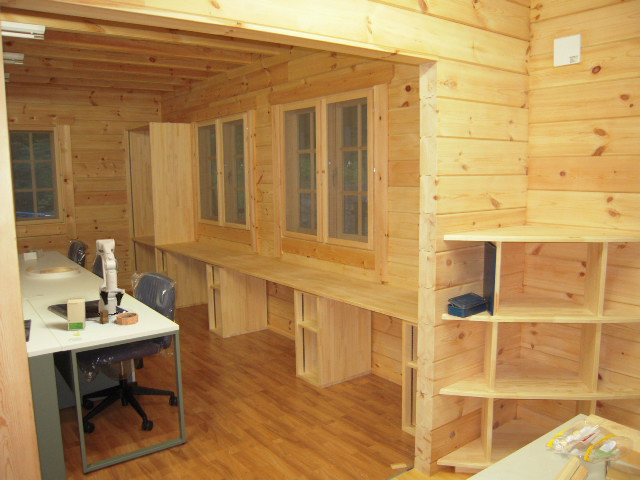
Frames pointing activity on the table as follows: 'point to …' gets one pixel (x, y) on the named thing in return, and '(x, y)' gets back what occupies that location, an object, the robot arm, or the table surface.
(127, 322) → the faceted orange bowl
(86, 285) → the table surface
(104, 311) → the wooden rectangular peg
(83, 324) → the skincare box
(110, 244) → the robot arm
